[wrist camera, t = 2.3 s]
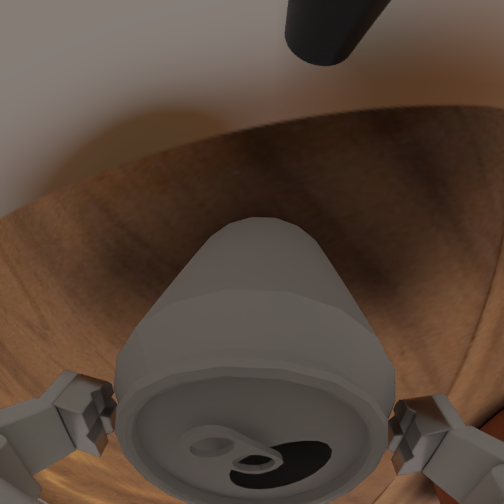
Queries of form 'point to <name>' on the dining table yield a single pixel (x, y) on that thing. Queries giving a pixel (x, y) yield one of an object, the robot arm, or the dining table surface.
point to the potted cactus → (497, 427)
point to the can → (255, 376)
